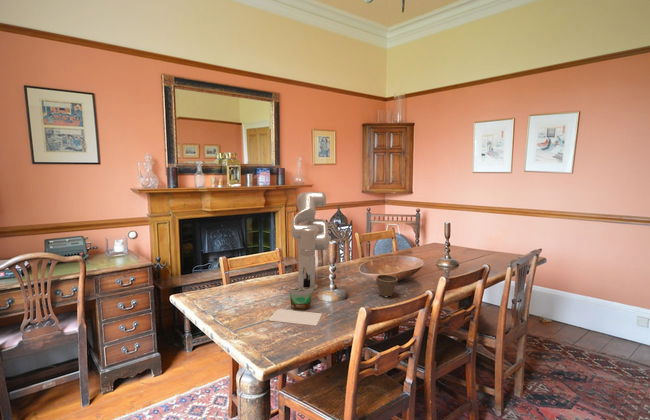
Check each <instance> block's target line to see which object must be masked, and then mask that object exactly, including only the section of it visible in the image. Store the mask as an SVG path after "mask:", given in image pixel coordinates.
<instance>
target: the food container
mask: <svg viewBox="0 0 650 420" xmlns="http://www.w3.org/2000/svg"><path fill="white" fill-rule="evenodd" d="M313 292H314V290H313V288H298V289H296V288H290V287H289V288H288V293H289V299H290V307H291V309H292V310H294V311H306V310H308V309H310V308H311V300H312V295H313V294H312V293H313Z"/></svg>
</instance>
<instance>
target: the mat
mask: <svg viewBox="0 0 650 420" xmlns="http://www.w3.org/2000/svg"><path fill="white" fill-rule="evenodd" d="M322 315H323V313H322V312H321V313H320V312H319V313H318V312H311V311H310V312H309V311H303V310H293V309H283V308H282V309H281V308H276V310H275V311H274V313H273V314H272V315H271V316H270V318H268V322H275V323H276V322H277V323H285V324H292V325H293V324H294V325H303V326H312V327H318V326H317V325H318V323H319V321H320V320H321V317H322Z"/></svg>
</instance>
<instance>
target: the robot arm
mask: <svg viewBox="0 0 650 420" xmlns="http://www.w3.org/2000/svg"><path fill="white" fill-rule="evenodd" d="M326 205H327V196H326V193H325V192H323V191H320V192H319V191H306V192H301V193H299V194H297V196H296V207H297V210H298V213H296V214H295V216H293V219H292V221H291V229H290V233H291V237H292V238H293V239H295V240H297V249H298V269H297V270H298V271H297V272H298V273H297V274H298V277H297V279H298V282H297V283H296V284H295V287H294V288H295V289H298V288H313V291H315V290H317V289H318V284H317V283H316V256H315V255H316V251H325V250H327V249H328V248H329V244H330V243H329V242H330V241H329V228H328V227H329V226H328V222H327V220H325V219H324V218H322V219H321V218H316V213H317V210H316V209H317V208H324V207H325V206H326Z"/></svg>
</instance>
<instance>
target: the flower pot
mask: <svg viewBox="0 0 650 420" xmlns="http://www.w3.org/2000/svg"><path fill="white" fill-rule="evenodd" d="M375 277H376V283H377V288H378V293H379V296H380V295H382V296H391V297H392V296H393V293H394V291H395V288H396V285H397V284H398V280H399V279H398V278H397V277H396V276H393V275H390V274H378V275H377V276H375ZM382 296H381V297H382Z"/></svg>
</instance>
